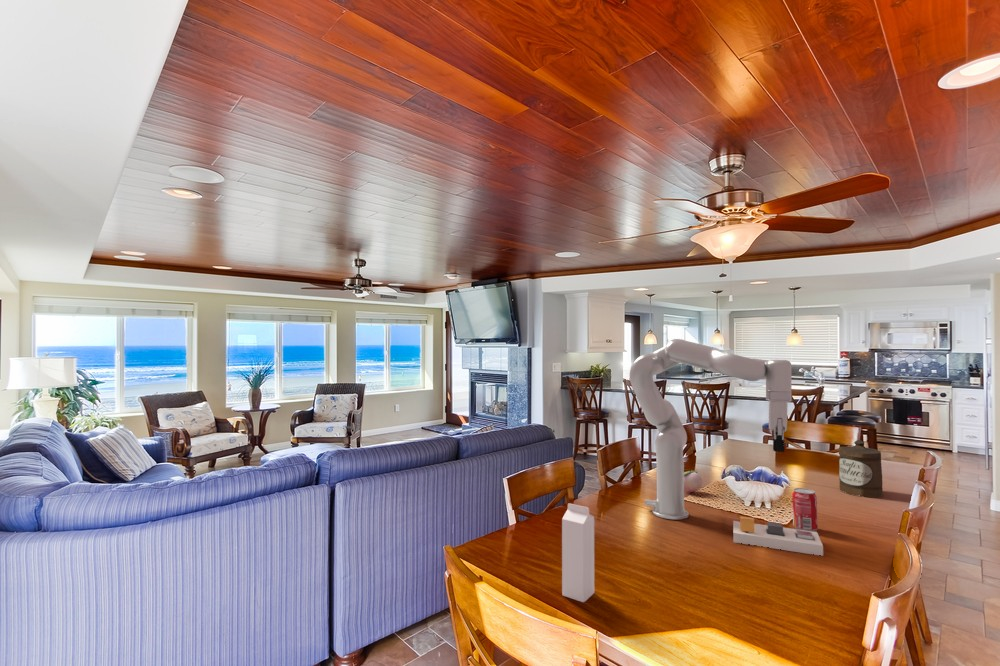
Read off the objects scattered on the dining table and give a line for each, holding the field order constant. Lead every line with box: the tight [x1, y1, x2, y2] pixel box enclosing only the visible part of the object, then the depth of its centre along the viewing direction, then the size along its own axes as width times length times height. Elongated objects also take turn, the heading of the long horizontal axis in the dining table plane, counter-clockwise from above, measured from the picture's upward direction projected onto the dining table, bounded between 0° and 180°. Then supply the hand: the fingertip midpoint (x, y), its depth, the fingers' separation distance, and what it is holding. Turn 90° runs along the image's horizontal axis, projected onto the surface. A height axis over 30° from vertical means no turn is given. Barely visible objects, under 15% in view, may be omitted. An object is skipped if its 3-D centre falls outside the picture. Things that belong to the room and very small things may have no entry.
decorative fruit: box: [684, 468, 703, 494], centre depth 210 cm, size 9×8×10 cm
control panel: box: [732, 520, 824, 557], centre depth 157 cm, size 24×12×3 cm, turn 65°
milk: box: [561, 502, 595, 604], centre depth 124 cm, size 6×6×22 cm
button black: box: [767, 521, 784, 536], centre depth 157 cm, size 4×4×4 cm
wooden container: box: [838, 439, 883, 498], centre depth 211 cm, size 15×15×22 cm
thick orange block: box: [739, 515, 755, 533], centre depth 158 cm, size 4×2×7 cm, turn 65°
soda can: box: [792, 487, 819, 532], centre depth 168 cm, size 7×7×13 cm
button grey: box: [796, 530, 813, 540], centre depth 154 cm, size 4×4×4 cm
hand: (778, 451), depth 167 cm, fingers closed
